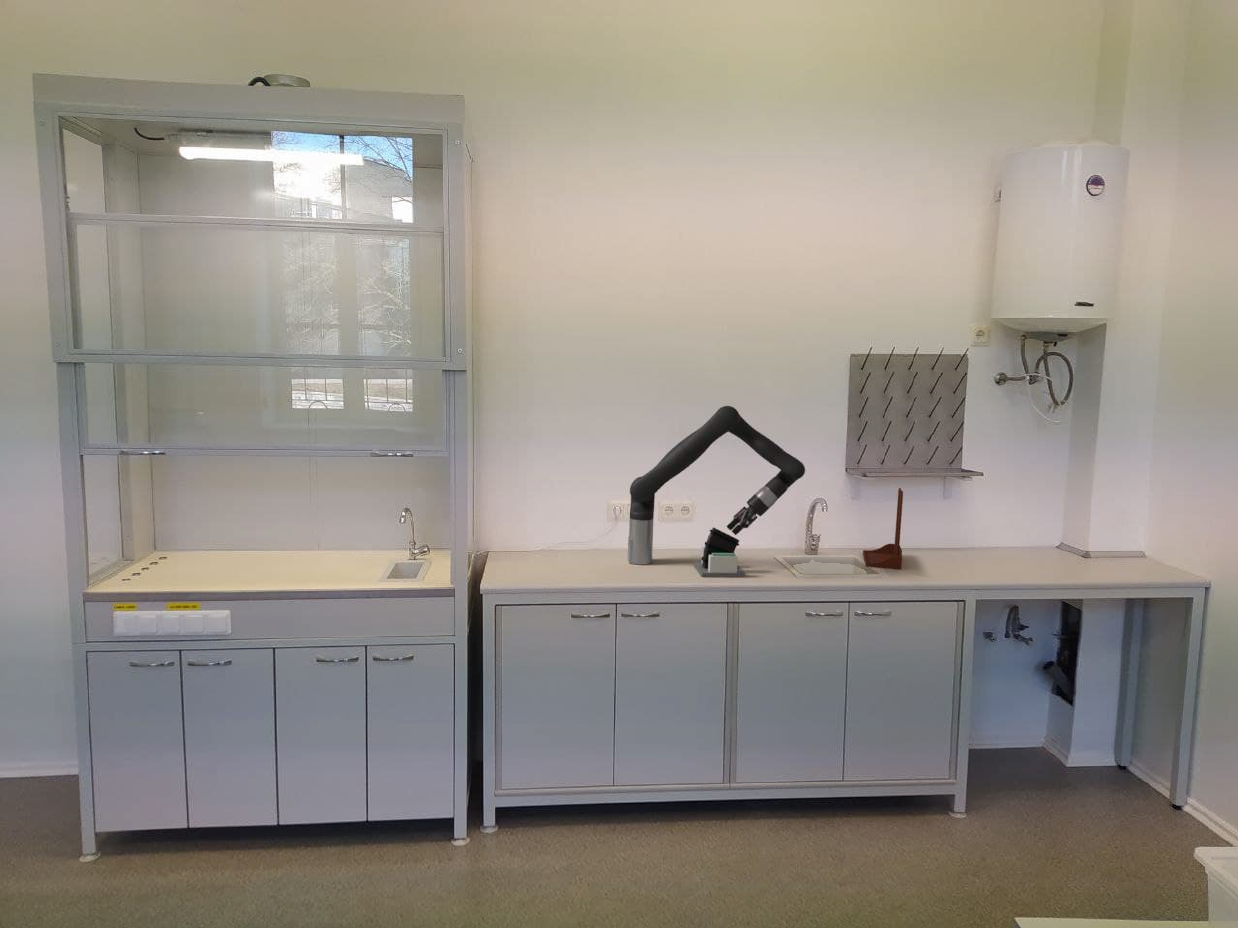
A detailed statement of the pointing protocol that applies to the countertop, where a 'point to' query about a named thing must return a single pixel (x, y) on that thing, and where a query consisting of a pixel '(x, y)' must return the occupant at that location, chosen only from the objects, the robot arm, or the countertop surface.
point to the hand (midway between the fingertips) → (730, 530)
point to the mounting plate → (706, 574)
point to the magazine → (718, 545)
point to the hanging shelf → (888, 547)
